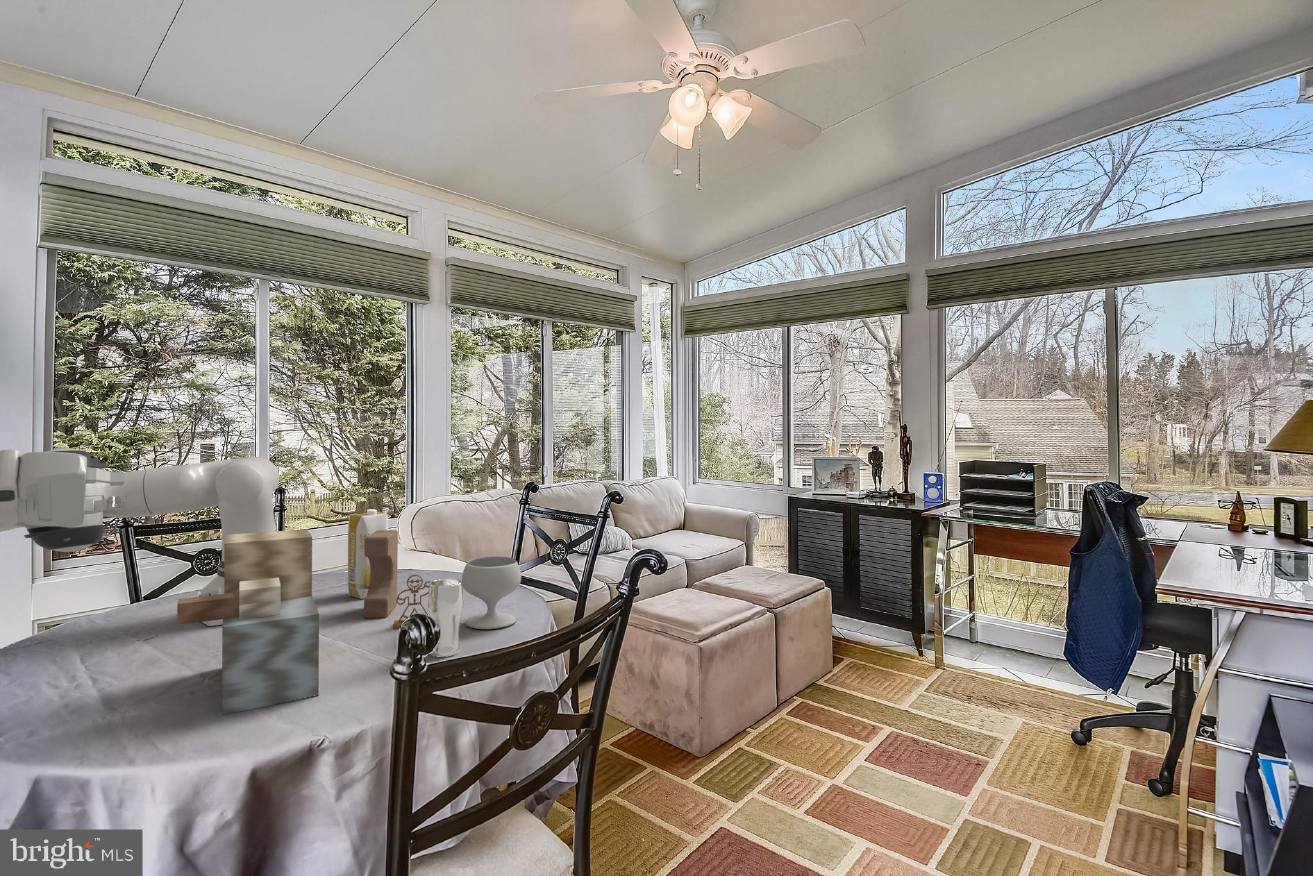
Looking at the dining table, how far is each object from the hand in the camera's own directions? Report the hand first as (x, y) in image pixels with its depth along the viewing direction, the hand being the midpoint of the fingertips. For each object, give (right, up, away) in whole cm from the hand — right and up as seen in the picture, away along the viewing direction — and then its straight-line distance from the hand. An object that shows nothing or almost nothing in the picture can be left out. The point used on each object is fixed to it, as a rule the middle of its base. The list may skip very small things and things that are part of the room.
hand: (123, 491), depth 105 cm
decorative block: (+20, -36, +54) cm, 68 cm away
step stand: (+18, -36, +11) cm, 42 cm away
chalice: (+50, -36, +47) cm, 77 cm away
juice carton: (+9, -35, +69) cm, 78 cm away
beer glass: (+45, -37, +27) cm, 64 cm away
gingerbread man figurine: (+32, -36, +45) cm, 66 cm away
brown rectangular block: (+17, -22, +4) cm, 28 cm away
